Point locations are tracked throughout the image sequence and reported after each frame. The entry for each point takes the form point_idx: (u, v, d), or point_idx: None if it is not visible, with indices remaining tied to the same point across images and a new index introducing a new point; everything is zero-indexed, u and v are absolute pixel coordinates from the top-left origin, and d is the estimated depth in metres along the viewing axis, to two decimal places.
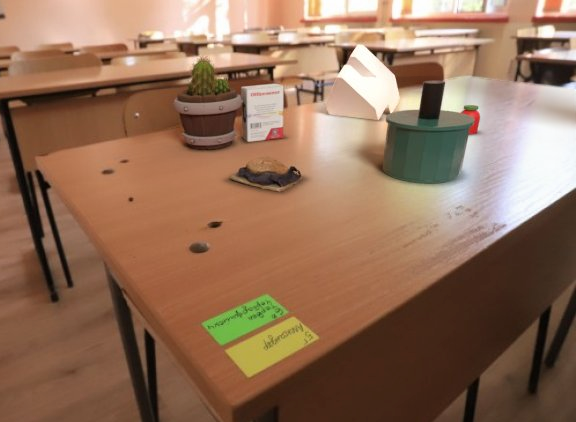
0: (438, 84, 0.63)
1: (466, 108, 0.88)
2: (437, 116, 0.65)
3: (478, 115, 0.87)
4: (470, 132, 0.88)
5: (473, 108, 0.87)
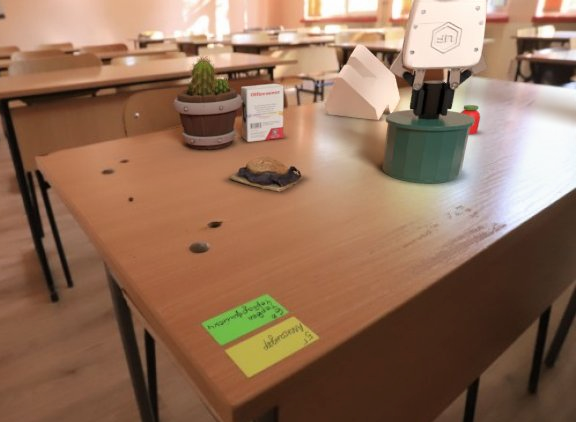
0: (438, 84, 0.63)
1: (466, 108, 0.88)
2: (437, 116, 0.65)
3: (478, 115, 0.87)
4: (470, 132, 0.88)
5: (473, 108, 0.87)
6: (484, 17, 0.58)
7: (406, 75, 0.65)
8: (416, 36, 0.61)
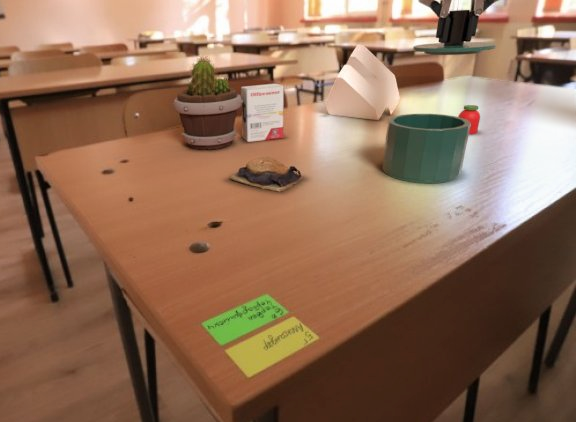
0: (463, 11, 0.69)
1: (466, 108, 0.88)
2: (462, 42, 0.72)
3: (478, 115, 0.87)
4: (470, 132, 0.88)
5: (473, 108, 0.87)
6: None
7: (433, 4, 0.71)
8: None
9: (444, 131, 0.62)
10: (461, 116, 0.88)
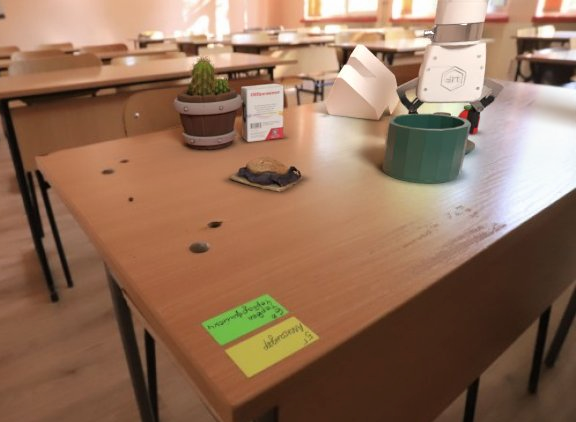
0: None
1: (466, 108, 0.88)
2: None
3: None
4: None
5: None
6: (484, 63, 0.71)
7: (403, 100, 0.79)
8: (429, 77, 0.74)
9: (444, 131, 0.62)
10: (461, 116, 0.88)
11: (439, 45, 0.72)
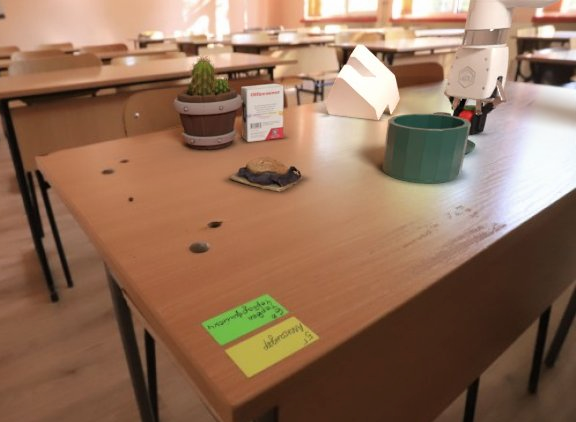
0: None
1: (466, 108, 0.88)
2: None
3: None
4: None
5: (473, 108, 0.87)
6: (490, 66, 0.80)
7: (450, 98, 0.91)
8: (451, 73, 0.88)
9: (444, 131, 0.62)
10: (461, 116, 0.88)
11: (461, 47, 0.85)
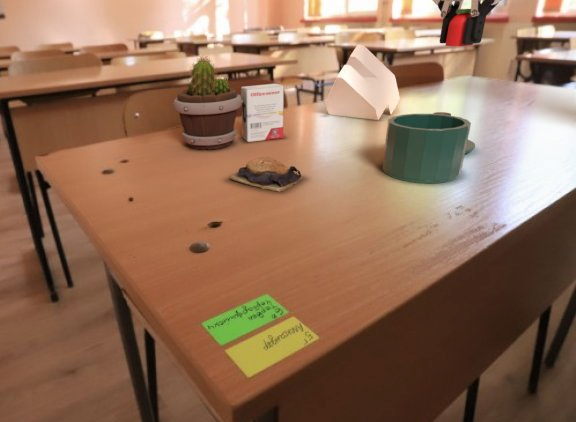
0: None
1: (459, 11, 0.68)
2: None
3: None
4: None
5: (468, 10, 0.67)
6: None
7: (439, 4, 0.72)
8: None
9: (444, 131, 0.62)
10: (452, 23, 0.69)
11: None
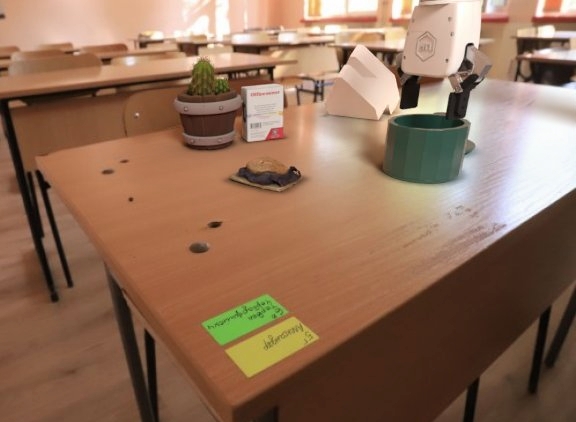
0: None
1: None
2: None
3: None
4: None
5: None
6: (455, 28, 0.57)
7: (398, 69, 0.70)
8: (407, 43, 0.65)
9: (444, 131, 0.62)
10: None
11: (418, 5, 0.62)
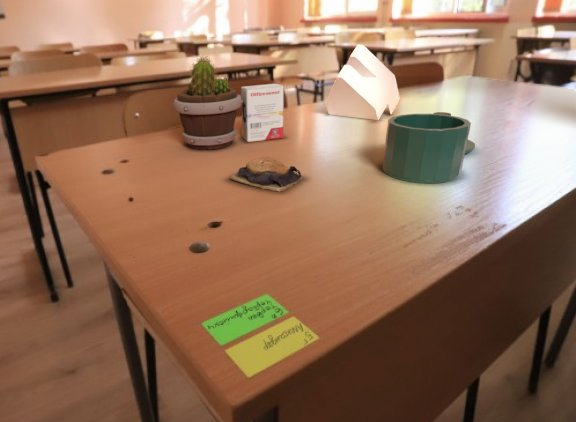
0: None
1: None
2: None
3: None
4: None
5: None
6: None
7: None
8: None
9: (444, 131, 0.62)
10: None
11: None
